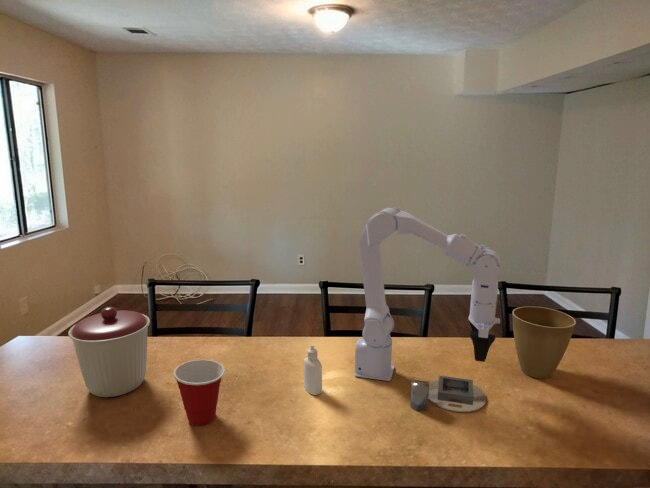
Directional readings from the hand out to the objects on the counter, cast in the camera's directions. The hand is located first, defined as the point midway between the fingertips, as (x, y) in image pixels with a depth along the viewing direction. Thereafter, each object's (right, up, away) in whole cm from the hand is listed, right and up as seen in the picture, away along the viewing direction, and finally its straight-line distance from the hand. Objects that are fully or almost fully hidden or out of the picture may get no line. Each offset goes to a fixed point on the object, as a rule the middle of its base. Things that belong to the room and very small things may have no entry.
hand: (479, 353), depth 109 cm
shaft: (-15, -11, -4) cm, 20 cm away
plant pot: (+19, -8, +11) cm, 24 cm away
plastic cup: (-65, -13, -9) cm, 66 cm away
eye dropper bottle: (-40, -10, +3) cm, 42 cm away
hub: (-6, -10, 0) cm, 12 cm away
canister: (-90, -10, +5) cm, 90 cm away
